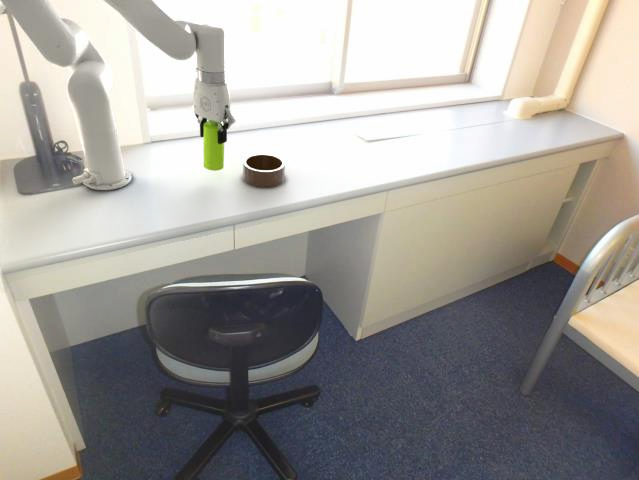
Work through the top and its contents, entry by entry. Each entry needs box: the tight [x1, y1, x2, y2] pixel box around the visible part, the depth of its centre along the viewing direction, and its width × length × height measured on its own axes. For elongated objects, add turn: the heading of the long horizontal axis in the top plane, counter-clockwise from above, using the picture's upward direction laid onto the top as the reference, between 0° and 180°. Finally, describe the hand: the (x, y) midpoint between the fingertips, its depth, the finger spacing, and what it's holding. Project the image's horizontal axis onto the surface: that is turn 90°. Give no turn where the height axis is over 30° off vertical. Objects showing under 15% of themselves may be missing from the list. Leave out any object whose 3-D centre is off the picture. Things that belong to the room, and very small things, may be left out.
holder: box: [242, 153, 286, 189], centre depth 137 cm, size 13×13×6 cm
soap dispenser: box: [203, 119, 225, 172], centre depth 128 cm, size 6×7×20 cm
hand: (213, 138), depth 129 cm, fingers closed on soap dispenser, 6 cm apart
